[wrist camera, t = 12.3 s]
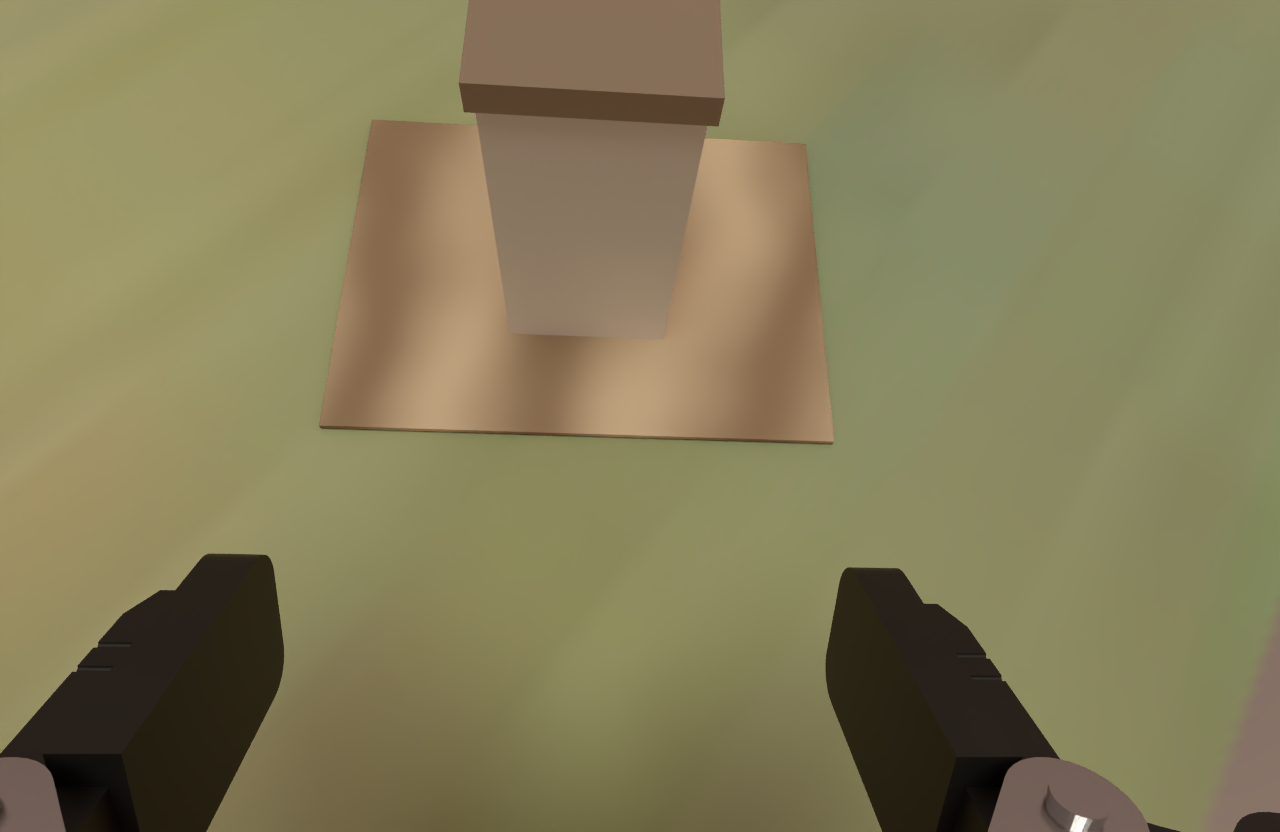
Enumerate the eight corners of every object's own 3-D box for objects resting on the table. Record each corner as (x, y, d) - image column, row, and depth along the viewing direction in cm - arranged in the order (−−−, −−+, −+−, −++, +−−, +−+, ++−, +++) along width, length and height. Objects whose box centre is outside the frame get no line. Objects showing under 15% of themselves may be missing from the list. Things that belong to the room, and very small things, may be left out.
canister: (503, 338, 26) (458, 83, 16) (514, 202, 28) (480, -98, 18) (668, 344, 26) (724, 98, 16) (667, 210, 29) (715, -81, 19)
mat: (320, 428, 25) (318, 425, 24) (373, 123, 29) (372, 119, 29) (832, 444, 26) (834, 441, 26) (804, 147, 30) (805, 143, 30)
